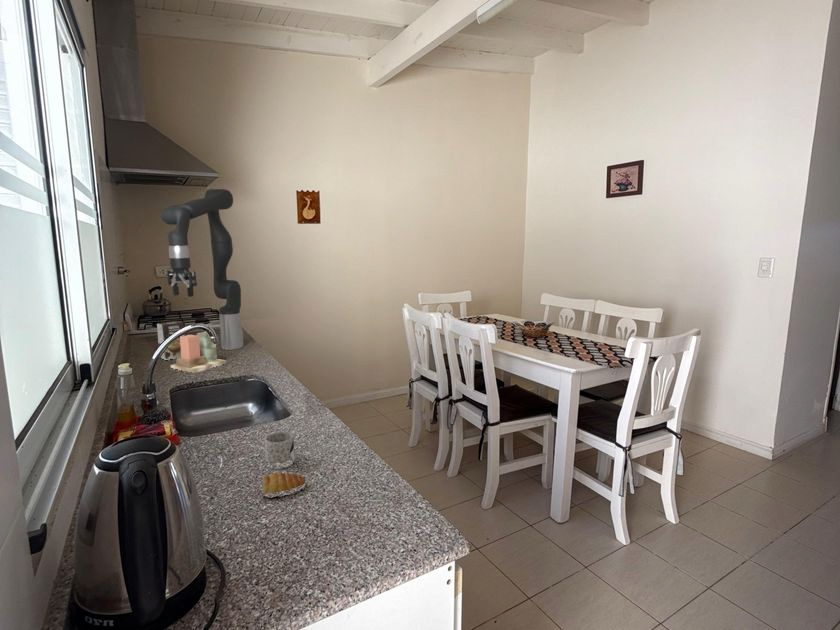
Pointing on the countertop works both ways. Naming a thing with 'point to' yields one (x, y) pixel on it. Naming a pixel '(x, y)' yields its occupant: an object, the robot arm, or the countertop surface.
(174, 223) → the robot arm
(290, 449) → the mug
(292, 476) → the pastry
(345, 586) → the countertop surface
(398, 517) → the countertop surface
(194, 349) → the brick block
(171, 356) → the coffee box
